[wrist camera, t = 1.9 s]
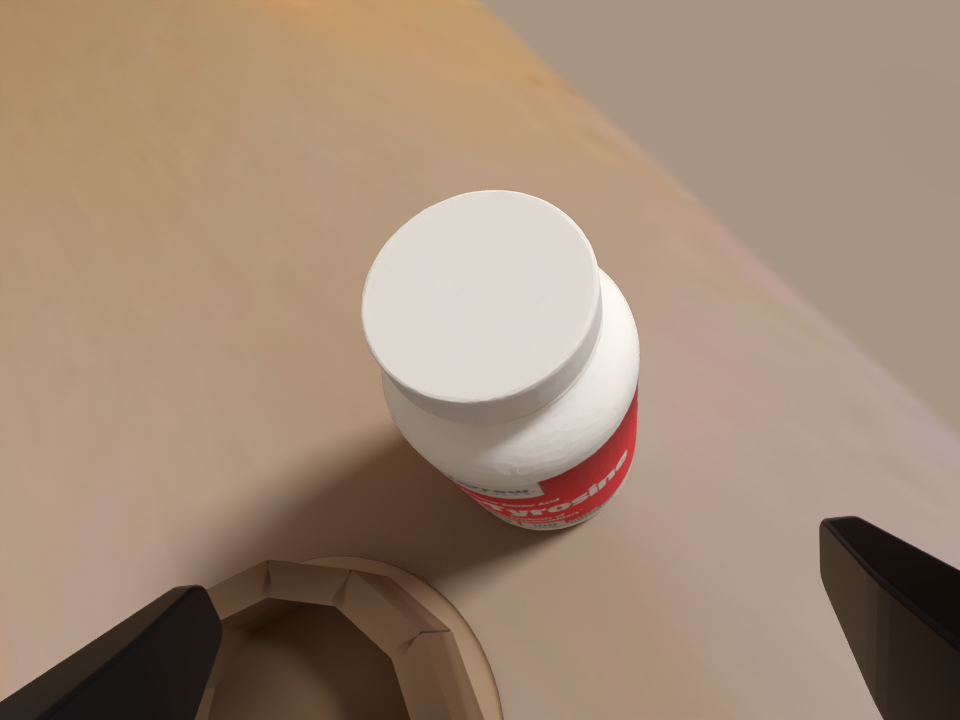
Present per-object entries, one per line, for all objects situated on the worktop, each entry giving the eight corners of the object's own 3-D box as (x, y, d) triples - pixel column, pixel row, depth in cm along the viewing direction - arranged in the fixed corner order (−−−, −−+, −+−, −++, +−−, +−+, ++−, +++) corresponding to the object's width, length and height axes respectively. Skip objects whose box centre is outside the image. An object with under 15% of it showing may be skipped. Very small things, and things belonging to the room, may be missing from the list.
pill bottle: (474, 549, 20) (328, 478, 10) (451, 385, 23) (315, 205, 13) (658, 513, 19) (688, 398, 10) (611, 346, 22) (597, 122, 12)
